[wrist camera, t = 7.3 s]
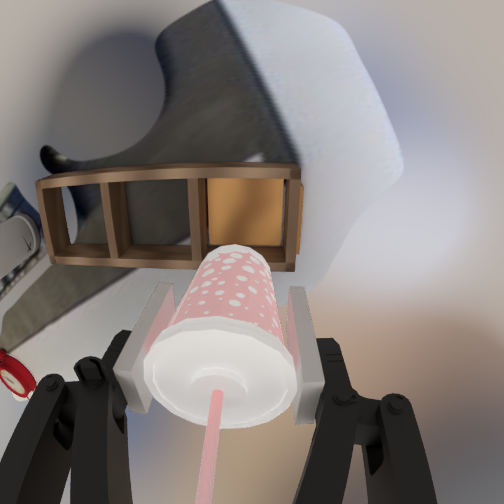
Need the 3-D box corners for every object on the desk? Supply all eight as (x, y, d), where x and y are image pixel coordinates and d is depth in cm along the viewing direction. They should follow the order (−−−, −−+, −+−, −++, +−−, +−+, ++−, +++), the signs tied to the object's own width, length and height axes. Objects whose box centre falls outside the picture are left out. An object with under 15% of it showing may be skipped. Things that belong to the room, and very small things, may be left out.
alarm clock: (30, 406, 48) (-21, 375, 42) (36, 386, 54) (-13, 355, 47) (37, 393, 45) (-20, 357, 38) (44, 370, 51) (-10, 336, 44)
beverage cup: (234, 331, 21) (213, 530, 8) (168, 274, 19) (73, 474, 6) (303, 280, 19) (349, 503, 6) (236, 211, 17) (181, 443, 4)
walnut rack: (66, 250, 35) (50, 263, 32) (53, 174, 31) (35, 181, 27) (294, 255, 35) (298, 271, 31) (299, 163, 30) (305, 169, 27)
